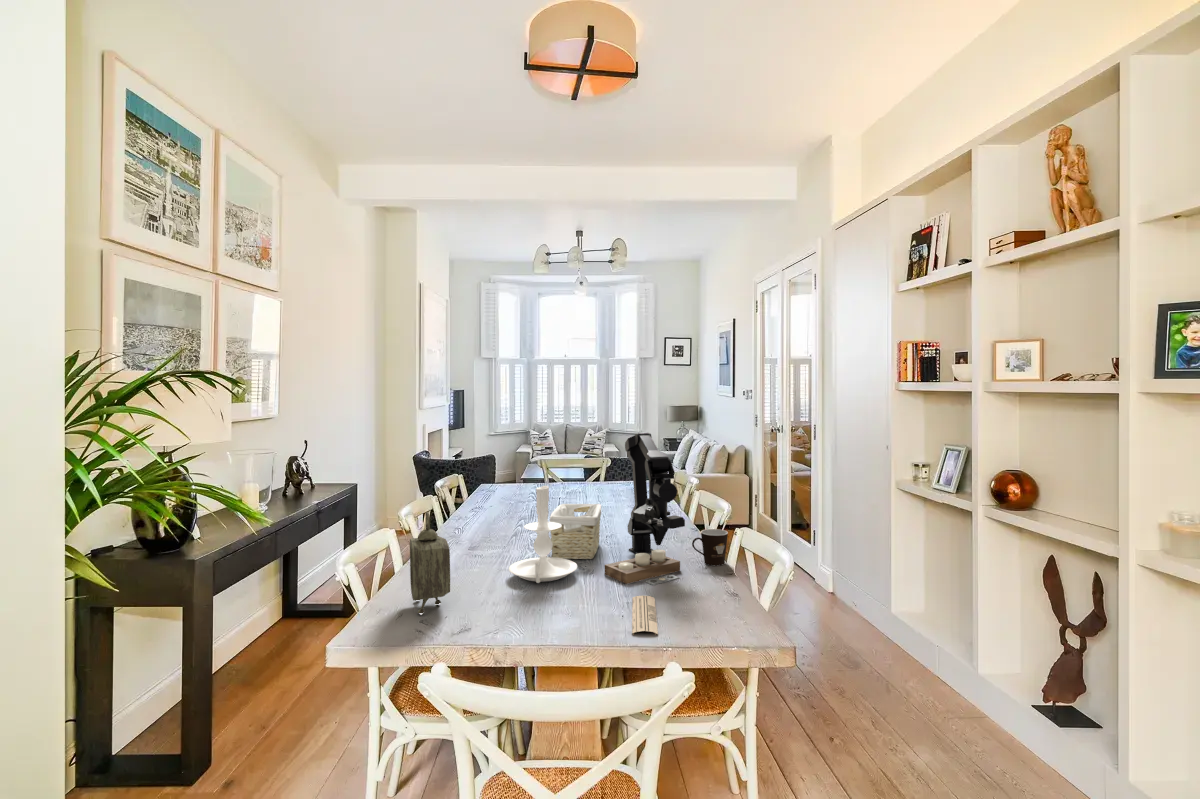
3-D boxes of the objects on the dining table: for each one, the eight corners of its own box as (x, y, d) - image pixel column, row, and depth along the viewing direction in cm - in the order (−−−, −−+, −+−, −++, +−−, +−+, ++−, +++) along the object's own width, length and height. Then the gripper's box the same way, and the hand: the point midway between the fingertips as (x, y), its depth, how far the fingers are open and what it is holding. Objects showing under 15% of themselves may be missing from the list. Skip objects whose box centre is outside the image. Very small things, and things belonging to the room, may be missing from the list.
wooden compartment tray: (604, 574, 184) (604, 564, 184) (656, 562, 197) (656, 553, 197) (626, 584, 176) (626, 573, 175) (680, 570, 188) (680, 561, 188)
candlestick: (499, 593, 168) (498, 493, 168) (515, 566, 193) (514, 479, 193) (573, 594, 168) (572, 493, 167) (579, 567, 192) (579, 479, 192)
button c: (648, 561, 190) (648, 551, 190) (659, 559, 193) (659, 548, 193) (657, 564, 187) (657, 554, 187) (668, 562, 189) (668, 551, 189)
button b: (632, 565, 187) (632, 554, 186) (643, 562, 189) (643, 552, 189) (641, 568, 183) (641, 557, 183) (652, 565, 186) (652, 555, 185)
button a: (615, 574, 183) (615, 564, 183) (627, 572, 185) (627, 561, 185) (624, 578, 179) (624, 567, 179) (636, 575, 182) (636, 564, 182)
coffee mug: (726, 559, 200) (726, 529, 199) (729, 567, 191) (729, 535, 191) (690, 558, 201) (690, 528, 201) (692, 566, 192) (692, 535, 192)
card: (644, 582, 177) (644, 580, 177) (671, 575, 183) (671, 574, 183) (652, 585, 174) (652, 583, 174) (679, 578, 180) (679, 577, 180)
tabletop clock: (410, 600, 164) (409, 508, 163) (444, 595, 167) (443, 505, 166) (414, 619, 150) (412, 519, 150) (451, 614, 153) (449, 516, 153)
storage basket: (559, 542, 224) (558, 502, 223) (602, 542, 222) (602, 502, 222) (548, 560, 200) (548, 516, 199) (597, 561, 198) (596, 517, 198)
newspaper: (632, 601, 163) (632, 595, 163) (658, 602, 163) (658, 595, 163) (632, 638, 140) (631, 630, 140) (662, 638, 139) (662, 631, 139)
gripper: (619, 494, 192) (619, 542, 193) (658, 503, 177) (658, 556, 178) (646, 490, 199) (646, 537, 199) (686, 499, 184) (686, 550, 184)
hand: (658, 545), depth 190 cm, fingers closed
